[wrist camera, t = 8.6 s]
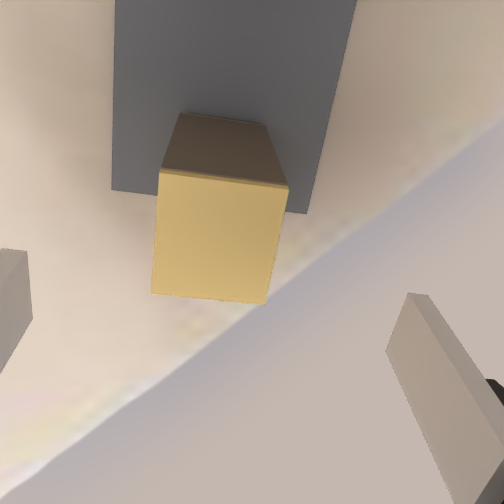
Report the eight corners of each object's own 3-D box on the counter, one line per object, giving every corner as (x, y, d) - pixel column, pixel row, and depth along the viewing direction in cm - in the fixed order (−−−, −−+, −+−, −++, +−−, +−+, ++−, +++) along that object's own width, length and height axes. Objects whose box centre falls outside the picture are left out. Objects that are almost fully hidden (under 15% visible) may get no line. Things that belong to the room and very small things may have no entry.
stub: (180, 111, 29) (159, 171, 19) (264, 123, 30) (289, 188, 20) (172, 199, 32) (150, 293, 22) (249, 208, 33) (265, 304, 22)
